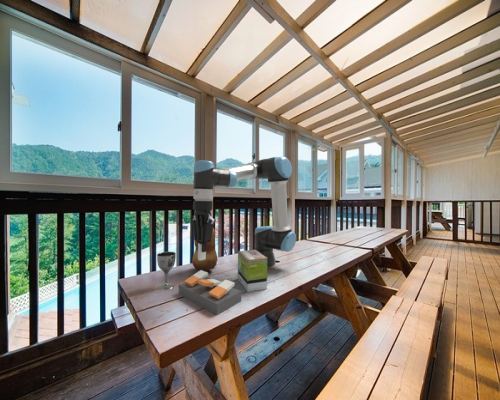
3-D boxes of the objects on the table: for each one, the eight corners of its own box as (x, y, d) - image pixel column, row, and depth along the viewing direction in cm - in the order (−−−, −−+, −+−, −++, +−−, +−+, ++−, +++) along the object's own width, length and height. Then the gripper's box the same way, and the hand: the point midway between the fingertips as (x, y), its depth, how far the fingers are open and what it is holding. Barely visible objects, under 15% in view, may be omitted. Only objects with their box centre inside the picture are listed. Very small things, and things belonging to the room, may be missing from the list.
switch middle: (213, 283, 91) (214, 279, 91) (221, 287, 87) (222, 282, 88) (196, 284, 84) (197, 279, 84) (204, 288, 81) (205, 283, 81)
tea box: (236, 279, 105) (237, 250, 105) (255, 277, 109) (255, 248, 108) (246, 292, 91) (247, 259, 91) (267, 289, 94) (268, 257, 94)
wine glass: (155, 291, 90) (155, 256, 90) (158, 283, 98) (158, 252, 98) (174, 289, 93) (174, 255, 92) (175, 282, 100) (176, 251, 100)
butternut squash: (188, 275, 109) (188, 227, 109) (196, 266, 123) (197, 224, 122) (213, 276, 108) (214, 228, 108) (219, 267, 121) (220, 225, 121)
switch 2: (226, 283, 86) (225, 279, 85) (235, 287, 82) (234, 282, 82) (209, 296, 79) (208, 292, 78) (218, 301, 76) (217, 296, 75)
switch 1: (201, 273, 96) (200, 269, 95) (208, 276, 92) (208, 272, 92) (185, 284, 89) (184, 280, 88) (192, 288, 86) (191, 284, 85)
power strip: (216, 278, 105) (216, 271, 105) (254, 293, 90) (254, 284, 90) (178, 294, 88) (178, 284, 88) (216, 315, 73) (217, 304, 73)
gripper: (185, 199, 83) (184, 258, 83) (206, 200, 75) (204, 265, 75) (200, 199, 89) (199, 254, 89) (221, 200, 81) (220, 260, 81)
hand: (201, 259), depth 82 cm, fingers closed
